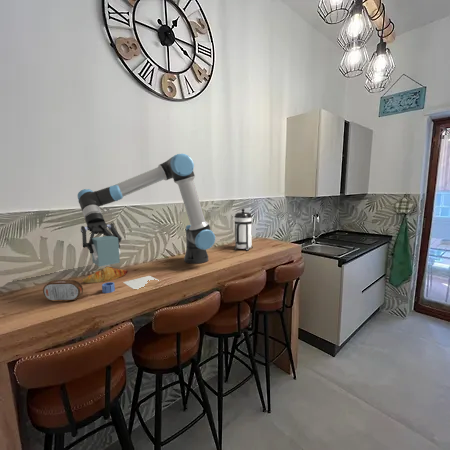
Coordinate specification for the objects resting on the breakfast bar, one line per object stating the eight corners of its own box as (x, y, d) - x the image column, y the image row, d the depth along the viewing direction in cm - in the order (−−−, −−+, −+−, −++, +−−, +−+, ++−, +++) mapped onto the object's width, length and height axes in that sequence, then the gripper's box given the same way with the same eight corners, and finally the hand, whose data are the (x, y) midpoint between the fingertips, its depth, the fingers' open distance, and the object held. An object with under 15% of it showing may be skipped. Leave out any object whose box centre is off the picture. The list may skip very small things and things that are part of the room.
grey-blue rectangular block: (112, 259, 121) (111, 235, 119) (119, 262, 114) (118, 237, 113) (92, 262, 115) (90, 238, 114) (99, 266, 109) (96, 240, 107)
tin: (84, 298, 110) (82, 278, 109) (80, 301, 107) (78, 281, 106) (47, 299, 110) (45, 280, 108) (42, 302, 106) (40, 282, 105)
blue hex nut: (114, 288, 120) (114, 281, 119) (114, 292, 115) (114, 285, 115) (102, 290, 118) (102, 283, 117) (102, 294, 113) (101, 286, 113)
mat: (149, 276, 136) (149, 275, 136) (163, 282, 126) (163, 282, 126) (122, 283, 127) (122, 282, 127) (135, 290, 117) (134, 289, 117)
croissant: (84, 292, 125) (84, 280, 121) (80, 278, 132) (80, 266, 128) (129, 282, 137) (130, 271, 133) (124, 269, 144) (124, 258, 140)
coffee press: (229, 248, 199) (228, 208, 195) (248, 246, 204) (248, 207, 200) (237, 253, 183) (236, 210, 179) (258, 251, 187) (258, 209, 183)
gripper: (115, 220, 131) (130, 256, 121) (66, 224, 117) (79, 266, 107) (118, 210, 126) (134, 247, 117) (68, 213, 112) (81, 256, 102)
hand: (108, 256), depth 112 cm, fingers closed on grey-blue rectangular block, 9 cm apart
